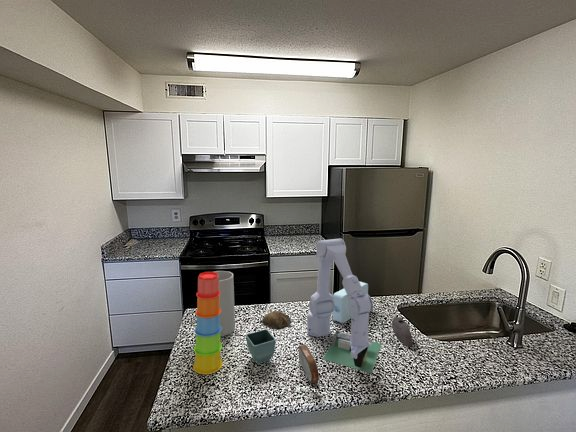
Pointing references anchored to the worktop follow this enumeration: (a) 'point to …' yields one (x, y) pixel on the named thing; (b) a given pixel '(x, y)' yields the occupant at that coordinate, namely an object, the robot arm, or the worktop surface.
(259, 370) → the worktop surface
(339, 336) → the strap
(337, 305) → the light blue box
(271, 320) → the bread roll
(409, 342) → the perforated stone tool
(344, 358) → the green board with slider
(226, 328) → the cylinder vase
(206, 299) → the stacking cups
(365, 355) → the block
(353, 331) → the robot arm
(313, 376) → the tin
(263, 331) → the flower pot
